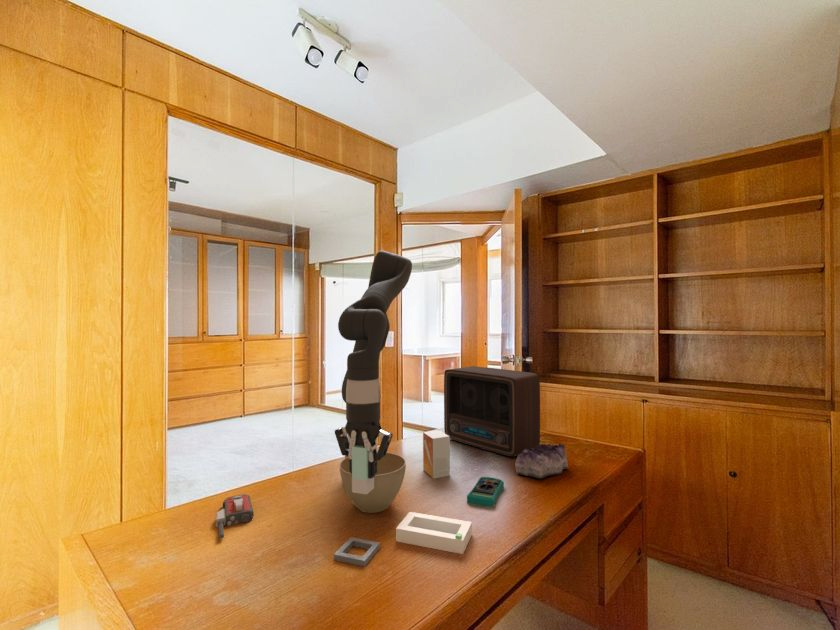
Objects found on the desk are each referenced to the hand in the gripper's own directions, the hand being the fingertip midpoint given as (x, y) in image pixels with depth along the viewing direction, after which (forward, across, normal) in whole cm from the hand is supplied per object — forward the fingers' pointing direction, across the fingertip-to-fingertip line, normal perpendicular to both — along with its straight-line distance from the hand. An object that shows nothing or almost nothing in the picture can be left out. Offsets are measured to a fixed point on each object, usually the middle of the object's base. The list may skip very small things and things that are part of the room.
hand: (363, 475), depth 94 cm
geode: (+17, +34, +64) cm, 74 cm away
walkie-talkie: (+18, -38, +2) cm, 42 cm away
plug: (+3, 0, 0) cm, 3 cm away
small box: (+17, 0, +50) cm, 53 cm away
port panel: (+17, +13, +11) cm, 24 cm away
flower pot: (+17, -8, +21) cm, 28 cm away
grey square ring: (+17, -1, -1) cm, 17 cm away
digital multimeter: (+18, +20, +39) cm, 47 cm away
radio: (+17, +11, +85) cm, 87 cm away
